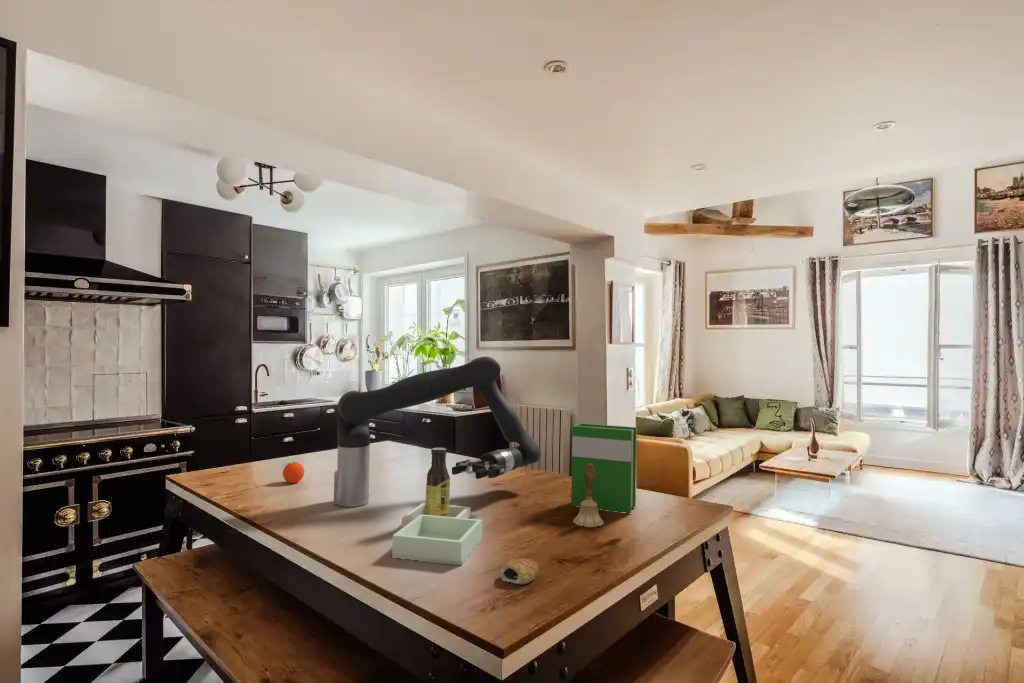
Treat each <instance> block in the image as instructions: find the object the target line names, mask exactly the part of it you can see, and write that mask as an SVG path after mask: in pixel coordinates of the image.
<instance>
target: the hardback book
mask: <svg viewBox="0 0 1024 683" xmlns="http://www.w3.org/2000/svg"><path fill="white" fill-rule="evenodd" d="M571 430H572V438H571V441H572V442H571V443H572V445H571V446H572V447H571V495H570V496H571V500H570V502H571V503H570V504H571V507H572V506H579V507H580V505H581V502H582V501H584V500H586V491H587V485H586V481H585V472H586V469H587V466H588V464H589V463H591V464H593V468H594V472H595V478H594V483H593V487H592V500H593V501H594V502H596V503H597V508H598V509H602V510H609V511H617V512H626V513H631V514H632V509H633V508H632V507H635V508H636V498H637V497H636V495H637V494H636V488H637V486H636V484H637V427H636V426H623V425H611V424H609V425H608V424H598V423H597V424H595V423H582V422H581V423H580V422H578V423H577V424H575V425H572V429H571ZM579 507H578V508H579Z"/></svg>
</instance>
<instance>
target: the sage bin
mask: <svg viewBox="0 0 1024 683" xmlns="http://www.w3.org/2000/svg"><path fill="white" fill-rule="evenodd" d="M482 541H483V519H478V518H477V519H476V518H470V519H468V518H457V517H445V516H434V515H423V514H421V515H419V516H418V517H417V518H415V519H414V520H413V521H411V522H410V523H409V524H407V525H406V526H405V527H403V528H402V527H401V529H399V530H398V531H397V532H395V533H394V534H392V550H391V551H392V556H391V557H392V559H396V558H401V559H400V560H405V559H411V560H410V561H414V560H418V561H417V562H423V561H425V562H424V563H433V564H441V565H442V564H443V563H444V564H443V565H450V564H452V566H458V565H461V566H462V565H464V563H465V562H466V561H467V559H468V558H469V557H470V556H471V555H472V553H473V552H474V551H475V550H476V549H477V547H478V546H479V545H480V543H481V542H482ZM478 544H479V545H478ZM474 549H475V550H474ZM473 550H474V551H473ZM469 555H470V556H469ZM464 561H465V562H464Z"/></svg>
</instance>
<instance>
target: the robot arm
mask: <svg viewBox="0 0 1024 683" xmlns="http://www.w3.org/2000/svg"><path fill="white" fill-rule="evenodd" d="M501 370H502V369H501V365H500V363H499V362H498V361H497V360H496V359H495V358H494V357H490V356H481V357H477V358H474V359H472V360H471V361H470V362H468V363H465V364H462V365H459V366H455V367H450V368H449V367H448V368H447V367H446V368H442V369H435V370H430V371H426V372H421V373H418V374H414V375H411V376H408V377H406V378H405V377H404V378H403V379H400V380H398V381H396V382H395V383H392V384H390V385H388V386H386V387H383V388H382V387H381V388H379V389H374V390H368V391H358V390H350V391H346V393H344V394H343V395H342V396H341V397H339V400H338V402H337V410H336V411H337V414H336V415H337V416H336V417H337V420H336V422H337V424H336V425H337V428H336V430H337V431H336V432H337V433H336V434H337V464H336V465H337V466H336V467H337V469H336V470H335V471H334V473H333V474H334V475H333V504H334V505H337V506H339V507H344V508H345V507H347V508H349V507H350V508H352V507H353V508H354V507H360V506H364V505H367V504H368V503H369V501H370V457H371V456H370V455H371V454H370V452H371V451H370V450H371V449H370V448H371V447H370V446H371V436H370V429H369V428H370V427H369V426H370V425H369V422H370V420H371V419H374V418H375V417H378V416H381V415H383V414H385V413H386V414H387V413H389V412H391V411H396V410H401V409H405V408H406V409H407V408H410V407H414V406H419V405H422V404H427V403H429V402H432V401H435V400H438V399H441V398H444V397H446V396H449V395H451V394H454V393H456V392H459V391H460V390H464V389H468V388H472V387H473V388H474V387H475V388H476V389H477V391H478V393H479V394H480V395H481V397H482V398H483V400H484V401H485V403H486V404H487V407H488V408H489V410H490V412H491V414H492V416H493V417H494V419H495V422H496V423H497V425H498V427H499V429H500V431H501V433H502V435H503V438H504V439H505V441H507V442H509V443H517V444H518V445H515V446H513V447H508V448H503V449H497V450H494V451H493V450H492V451H490V452H486V453H484V454H483V455H481V456H480V458H479V459H477V460H473V461H471V459H466V460H461V461H458V462H455V465H454V466H452V467H451V474H452V475H454V476H456V475H458V474H463V473H464V474H465V473H466V474H468V475H469V474H471V475H473V474H475V475H474V477H475V479H476V480H480V479H482V478H488V479H496V478H497V477H500V476H502V475H505V474H506V473H509V472H511V471H514V470H516V469H519V468H521V467H525V466H529V465H532V464H536V463H537V462H539V460H540V459H541V455H542V453H541V450H540V447H539V445H538V443H537V442H536V441H535V440H534V439H533V437H531V435H530V434H529V433H528V432H527V430H525V428H524V426H523V424H522V423H521V420H520V418H519V417H518V415H517V413H516V412H515V410H514V408H513V406H511V404H510V403H509V402H508V401H507V399H506V398H505V396H504V395H503V393H502V392H501V390H500V389H499V387H498V384H497V382H496V381H497V380H498V379H499V377H500V375H501Z"/></svg>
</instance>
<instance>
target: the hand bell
mask: <svg viewBox="0 0 1024 683" xmlns="http://www.w3.org/2000/svg"><path fill="white" fill-rule="evenodd" d="M594 478H595V472H594V468H593V464H591V463H589V464H588V466H587V469H586V472H585V481H586V485H587V491H586V500H584V501H582V502H581V505H580V508H579V511H578V514H577V515H576V516H575V518H574V519H573V521H572V522H573V524H575V525H576V526H579V527H583V526H584V528H598V527H597V526H600V527H602V526H604V525H605V521H604V520H603V519H602V517H601V516H600V514H599V510H598V508H597V503H596V502H594V501H593V500H592V487H593V483H594ZM603 524H604V525H603ZM601 525H602V526H601Z"/></svg>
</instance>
